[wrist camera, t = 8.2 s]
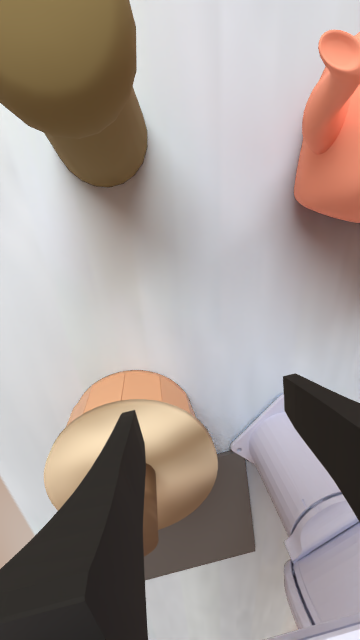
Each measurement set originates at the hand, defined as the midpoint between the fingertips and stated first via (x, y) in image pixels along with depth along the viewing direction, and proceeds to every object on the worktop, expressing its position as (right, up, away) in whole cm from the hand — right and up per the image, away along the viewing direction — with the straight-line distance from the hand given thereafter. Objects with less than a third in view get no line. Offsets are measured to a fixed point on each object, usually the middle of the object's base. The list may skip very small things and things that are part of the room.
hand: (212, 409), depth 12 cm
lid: (-5, -8, +8) cm, 12 cm away
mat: (-1, -19, +18) cm, 26 cm away
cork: (-7, +16, +5) cm, 18 cm away
